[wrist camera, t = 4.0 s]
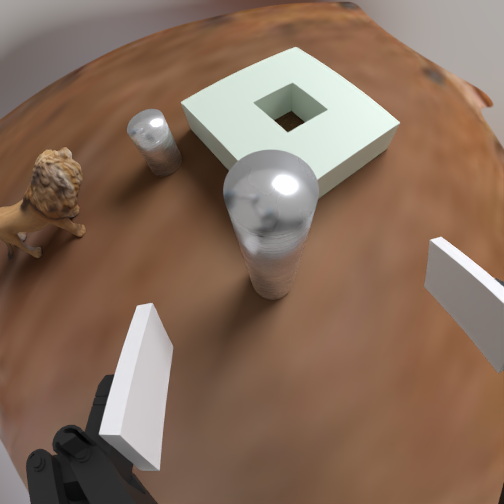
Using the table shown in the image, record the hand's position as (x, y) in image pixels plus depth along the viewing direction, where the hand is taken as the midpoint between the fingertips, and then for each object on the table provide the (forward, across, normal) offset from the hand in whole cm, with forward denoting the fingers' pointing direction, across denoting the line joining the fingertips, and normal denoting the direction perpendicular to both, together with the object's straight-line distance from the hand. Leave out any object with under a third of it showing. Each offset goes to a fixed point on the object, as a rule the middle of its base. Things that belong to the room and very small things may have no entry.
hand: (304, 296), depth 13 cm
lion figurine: (+16, -21, +2) cm, 26 cm away
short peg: (+18, -8, +5) cm, 21 cm away
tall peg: (+9, -1, -5) cm, 10 cm away
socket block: (+18, +4, +5) cm, 20 cm away
